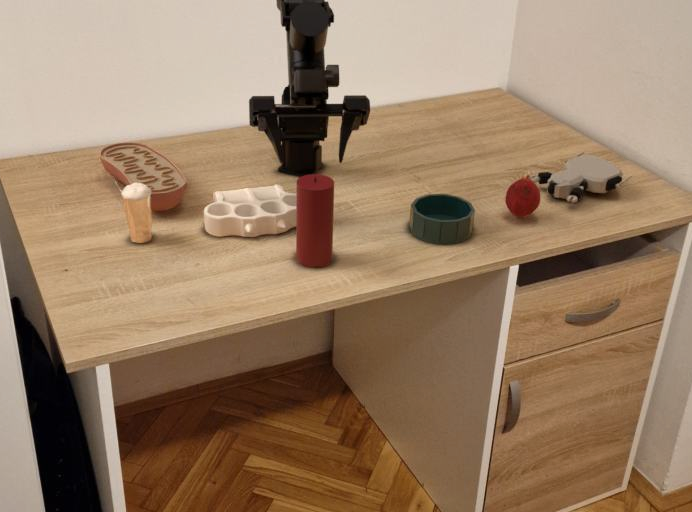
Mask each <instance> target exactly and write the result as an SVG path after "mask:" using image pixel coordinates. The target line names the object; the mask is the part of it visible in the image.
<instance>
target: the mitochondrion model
mask: <svg viewBox="0 0 692 512" xmlns="http://www.w3.org/2000/svg"><path fill="white" fill-rule="evenodd" d="M99 158H100V163H101V165H102V167H103V168H104V170H105V171H106V172H107V173H108V174H109V175H110V176H112V177H113V178H115V179H117V180H118V181H120V182H121V183H123V184H124V185H125V187H126V186H128V185H131V184H133V183H142V184H145V185H146V186H147V187H149V188H150V189H151V211H153V212H154V211H156V212H164V211H167V210H170V209H173V208H174V207H176V206H177V205H178V204H179V203H180V202H181V201H182V199H183V198H184V196H185V192H186V189H187V179H186V176H185V175H184V174H183V173H182V171H181V169H180V168H179V167H178V166H177V165H176V164H175V163H174V162H173V161H172V160H171V159H170V158H168V157H167V156H166V155H164V154H162V153H161V152H159V151H157V150H156V149H154V148H153V147H151V146H149V145H147V144H144V143H139V142H130V141H129V142H118V143H113V144H110V145H108V146H105V147H104V148H102V149H101V150H100V152H99Z"/></svg>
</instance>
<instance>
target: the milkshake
mask: <svg viewBox="0 0 692 512" xmlns="http://www.w3.org/2000/svg"><path fill="white" fill-rule="evenodd" d="M114 183H115V184H116V186H117V188H118V190H119V191H120V193H121V197H122V201H123V202H122V203H123V206H124V210H125V215H126V222H127V226H128V231H129V236H130V239H131V241H132V242H134V243H137V244H144V243H147V242H150V241H151V239H152V238H153V236H152V235H153V231H152V227H153V225H152V210H151V189H150V188H149V187H147V186H146V185H145V184H142V183H133V184H131V185H128V186H126V185H125V187H124V188H123V189H121V187H120V186H119V184H118V183H117V181H116V180H114Z"/></svg>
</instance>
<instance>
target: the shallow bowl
mask: <svg viewBox="0 0 692 512" xmlns="http://www.w3.org/2000/svg"><path fill="white" fill-rule="evenodd" d="M475 214H476V209H475V207H474V205H473V203H472V202H471V201H469V200H467V199H466V198H464V197H461V196H458V195H453V194H448V193H427V194H424V195H421V196H418V197H416V198H415V199H414V200H413V201H412V202H411V204H410V209H409V222H408V223H409V230H410V232H411V234H412V235H413V236H414V237H416V238H417V239H419V240H421V241H424V242H426V243H429V244H435V245H454V244H458V243H462V242H465V241H466V240H468V239H469V238H470V237H471V235H472V232H473V230H474V223H475Z"/></svg>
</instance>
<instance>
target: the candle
mask: <svg viewBox="0 0 692 512" xmlns="http://www.w3.org/2000/svg"><path fill="white" fill-rule="evenodd" d="M295 187H296V189H295V191H296V192H295V194H296V227H295V229H296V230H295V232H296V233H295V234H296V235H295V236H296V237H295V240H296V243H295V245H296V246H295V247H296V249H295V250H296V251H295V259H296V261H297V263H298V264H299V265H301V266H304V267H307V268H322V267H325V266H328V265H329V264H331V262H332V261H333V249H334V248H333V243H334V207H335V181H334V179H333V178H332V177H330V176H327V175H326V174H325V175H324V174H319V173H314V174H309V175H304V176H299V177H298V178H297V180H296V186H295Z"/></svg>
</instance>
